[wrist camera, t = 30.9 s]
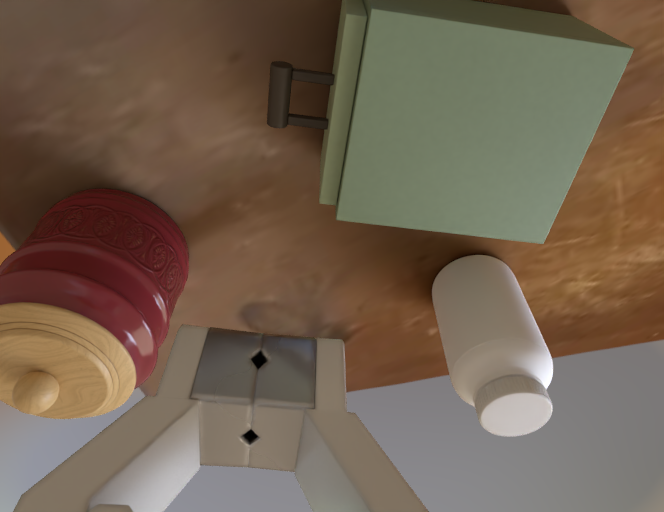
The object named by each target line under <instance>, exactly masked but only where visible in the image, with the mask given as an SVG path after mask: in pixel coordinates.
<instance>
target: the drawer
mask: <svg viewBox="0 0 664 512" xmlns="http://www.w3.org/2000/svg"><path fill="white" fill-rule="evenodd" d="M367 18H368V17H367V14H366V10H365V7H364V4H363V0H342V6H341V13H340V20H339V28H338V35H337V42H336V50H335V57H334V64H333V72H332V74H331V73H324V72H317V71H310V70H303V69H296V68H293V66H292V65H291V64H289V63H286V62H281V61H276V62H272V63H271V68H270V83H269V98H268V114H267V124H268V125H269V126H270V127H273V128H285V127H287V125H295V126H302V127H310V128H317V129H325V130H324V138H323V145H322V152H321V160H320V191H319V203H321V204H329V205H337V199H338V193H339V187H340V181H341V175H342V169H343V163H344V156H345V150H346V144H347V138H348V132H349V126H350V120H351V114H352V108H353V102H354V96H355V90H356V84H357V78H358V72H359V66H360V60H361V54H362V48H363V42H364V36H365V30H366V24H367ZM292 80H297V81H305V82H312V83H319V84H326V85H331V86H330V94H329V101H328V108H327V116H326V118H320V117H313V116H305V115H298V114H290V113H289V104H290V93H291V82H292Z"/></svg>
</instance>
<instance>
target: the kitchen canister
mask: <svg viewBox="0 0 664 512" xmlns="http://www.w3.org/2000/svg"><path fill="white" fill-rule="evenodd" d="M188 271H189V252H188V247H187V244H186V241H185V239H184V236H183V234H182V233H181V231H180V229H179V228H178V226H177V225H176V224H175V223H174V221H173V220H172V219H171V218H170V217H169V216H168V215H167V214H166V213H164V212H163V211H162V210H161V209H159V208H158V207H157V206H155V205H154V204H152V203H150V202H149V201H147V200H145V199H143V198H141V197H138V196H136V195H133V194H130V193H127V192H124V191H119V190H113V189H90V190H84V191H81V192H77V193H75V194H72V195H70V196H68V197H67V198H65V199H64V200H62V201H60V202H58V203H57V204H55V205H54V206H53V207H51V208H50V209H49V210H48V211H47V212H46V214H45V215H44V216H43V217H42V218H41V219H40V221H39V222H38V224H37V226H36V228H35V230H34V231H33V232H32V233H31V234H30V236H29V237H28V238H27V239H26V240H25V241H24V242H23V244H22V245H21V246H20V247H19V248H18V249H17V251H15V252H13V253H12V254H11V255H10V256H8V257H7V258H6V259H5V260H4V261H3V263H2V264H1V265H0V400H1V401H3V402H4V403H6V404H8V405H10V406H12V407H14V408H16V409H18V410H19V411H21V412H23V413H27V414H32V415H36V416H40V417H46V418H54V419H71V418H84V417H93V416H98V415H101V414H105V413H108V412H110V411H112V410H114V409H116V408H118V407H119V406H121V405H122V404H123V403H124V402H126V401H127V399H128V398H129V397H130V396H131V394H132V392H133V390H134V389H136V388H137V387H139V386H140V385H141V384H143V383H144V382H145V381H146V380H147V379H148V378H149V376H150V375H151V374H152V372H153V370H154V368H155V365H156V362H157V357H158V348H159V347H160V346H161V344H162V343H163V341H164V340H165V338H166V336H167V333H168V329H169V323H170V318H171V315H172V313H173V310H174V307H175V304H176V302H177V299H178V297H179V296H180V295H181V293H182V291H183V289H184V286H185V283H186V280H187V277H188Z"/></svg>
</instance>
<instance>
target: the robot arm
mask: <svg viewBox="0 0 664 512" xmlns="http://www.w3.org/2000/svg"><path fill="white" fill-rule="evenodd" d="M346 404H347V402H346V375H345V348H344V342H343V340H338V339H326V338H316V339H315V338H314V337H303V336H291V335H279V334H268V333H254V332H246V331H238V330H229V329H221V328H213V327H210V328H208V327H200V326H191V325H183V324H182V326H181V327H180V328H179V330H178V332H177V335H176V338H175V341H174V343H173V346H172V349H171V352H170V355H169V358H168V361H167V364H166V367H165V370H164V373H163V375H162V378H161V381H160V384H159V387H158V390H157V393H156V396H146V397H144V398H143V399H142V400H141V401H139V402H138V403H137V404H136V405H134V406H133V407H132V408H131V409H130V410H128V411H127V412H126V413H124V414H123V415H122V416H121V417H119V418H118V419H117V420H115V421H114V422H113V423H112V424H111V425H109V426H108V427H107V428H105V429H104V430H103V431H102V432H100V433H99V434H98V435H97V436H95V437H94V438H93V439H92V440H91V441H89V442H88V443H87V444H85V445H84V446H83V447H82V448H80V449H79V450H78V451H77V452H75V453H74V454H73V455H71V456H70V457H69V458H68V459H67V460H65V461H64V462H63V463H62V464H60V465H59V466H58V467H56V468H55V469H54V470H53V471H51V472H50V473H49V474H48V475H46V476H45V477H44V478H43V479H42V480H40V481H39V482H38V483H36V484H35V485H34V486H33V487H31V488H30V489H29V490H28V491H26V492H25V493H24V494H23V495H21V498H20V499H19V501H18V503H17V505H16V507H15V509H14V511H13V512H163V511H164V510H165V509H166V508H167V507H168V505H169V504H170V503H171V502H172V501H173V500H174V498H175V497H176V496H177V495H178V494H179V492H180V491H181V490H182V489H183V488H184V487H185V485H186V484H187V483H188V482H189V481H190V479H191V478H192V477H193V476H194V475H195V474H196V472H197V471H198V470H199V469H200V465H210V466H231V467H232V466H233V467H251V468H260V469H271V470H280V471H290V472H295V476H296V478H297V480H298V482H299V484H300V486H301V488H302V490H303V492H304V494H305V496H306V498H307V500H308V502H309V505H310V506H311V509H312V510H313V512H429V511H428V510H427V509H426V507H425V506H424V505H423V503H422V502H421V501H420V499H419V498H418V497H417V495H416V494H415V493H414V491H413V490H412V489H411V487H410V486H409V485H408V483H407V482H406V481H405V479H404V478H403V477H402V475H401V474H400V473H399V471H398V470H397V469H396V467H395V466H394V465H393V463H392V462H391V461H390V459H389V458H388V456H387V455H386V454H385V452H384V451H383V450H382V448H381V447H380V446H379V444H378V443H377V442H376V441H375V439H374V438H373V436H372V435H371V434H370V433H369V431H368V430H367V428H366V427H365V426H364V424H363V423H362V422H361V420H360V419H359V418H358V416H357V415H356V414H355V413H350V412H347V405H346Z"/></svg>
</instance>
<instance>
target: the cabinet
mask: <svg viewBox="0 0 664 512" xmlns="http://www.w3.org/2000/svg"><path fill="white" fill-rule="evenodd" d="M363 4H364V7H365V10H366V14H367V17H368V18H367V24H366V30H365V36H364V42H363V48H362V54H361V60H360V66H359V72H358V78H357V84H356V90H355V96H354V102H353V108H352V114H351V120H350V126H349V132H348V138H347V144H346V150H345V156H344V163H343V169H342V175H341V181H340V187H339V193H338V199H337V205H336V220H341V221H350V222H358V223H367V224H376V225H384V226H393V227H401V228H410V229H419V230H427V231H436V232H445V233H453V234H462V235H470V236H479V237H488V238H496V239H505V240H513V241H522V242H531V243H539V244H543V243H544V241H545V239H546V237H547V235H548V232H549V230H550V228H551V226H552V224H553V222H554V220H555V217H556V215H557V213H558V211H559V209H560V207H561V205H562V202H563V200H564V198H565V196H566V194H567V192H568V190H569V187H570V185H571V183H572V181H573V179H574V177H575V175H576V172H577V170H578V168H579V166H580V164H581V162H582V160H583V157H584V155H585V153H586V151H587V149H588V147H589V145H590V142H591V140H592V138H593V136H594V134H595V132H596V130H597V127H598V125H599V123H600V121H601V119H602V117H603V115H604V112H605V110H606V108H607V106H608V104H609V102H610V100H611V97H612V95H613V93H614V91H615V89H616V87H617V85H618V82H619V80H620V78H621V76H622V74H623V72H624V70H625V67H626V65H627V63H628V61H629V59H630V57H631V55H632V52H633V50H634V48H633V47H631V46H629V45H627V44H625V43H623V42H621V41H619V40H617V39H615V38H613V37H611V36H609V35H607V34H606V33H604V32H602V31H600V30H598V29H596V28H594V27H592V26H590V25H588V24H586V23H585V22H583V21H581V20H579V19H577V18H575V17H573V16H569V15H562V14H556V13H550V12H543V11H537V10H530V9H524V8H518V7H511V6H505V5H499V4H492V3H486V2H479V1H473V0H363Z"/></svg>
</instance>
